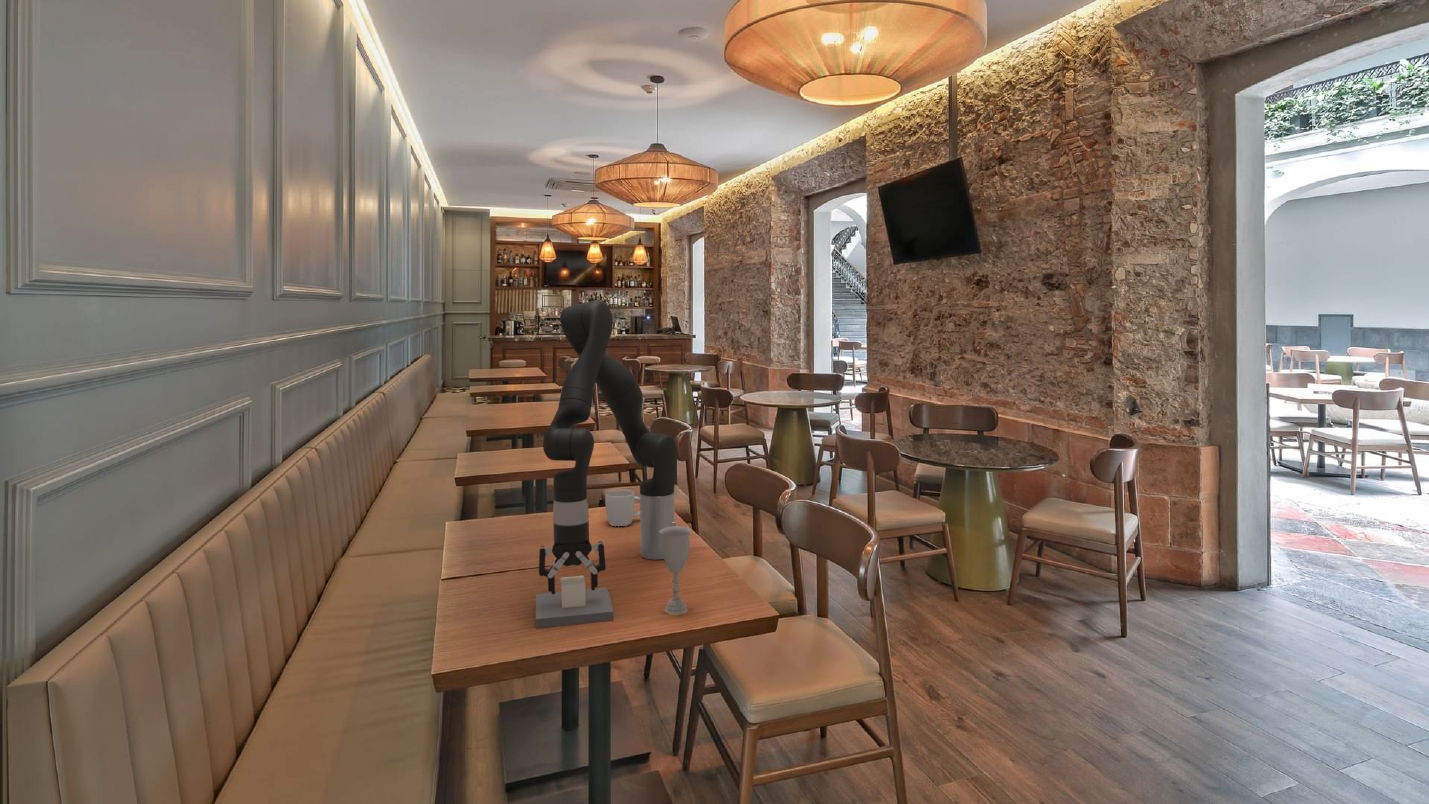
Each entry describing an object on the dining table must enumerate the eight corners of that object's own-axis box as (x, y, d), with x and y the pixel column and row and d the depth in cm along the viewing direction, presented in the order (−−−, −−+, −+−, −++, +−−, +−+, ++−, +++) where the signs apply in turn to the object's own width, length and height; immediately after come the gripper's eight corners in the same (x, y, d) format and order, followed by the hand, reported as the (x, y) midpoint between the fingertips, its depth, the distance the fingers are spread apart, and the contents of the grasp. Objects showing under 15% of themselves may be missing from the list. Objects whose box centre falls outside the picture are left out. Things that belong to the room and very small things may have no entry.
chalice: (679, 619, 153) (678, 537, 151) (653, 612, 156) (652, 532, 154) (698, 607, 159) (697, 529, 157) (673, 601, 162) (672, 524, 160)
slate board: (607, 595, 166) (607, 587, 166) (613, 620, 152) (613, 611, 152) (536, 602, 162) (536, 594, 162) (536, 628, 149) (535, 619, 148)
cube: (584, 597, 160) (583, 575, 159) (585, 605, 155) (585, 583, 155) (561, 599, 159) (560, 577, 158) (562, 608, 154) (561, 585, 153)
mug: (612, 530, 217) (612, 498, 216) (601, 523, 225) (600, 492, 224) (650, 523, 224) (649, 492, 223) (638, 517, 232) (637, 486, 230)
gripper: (602, 512, 160) (604, 582, 162) (537, 516, 157) (539, 588, 159) (605, 521, 153) (607, 594, 155) (537, 526, 150) (539, 600, 151)
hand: (573, 591), depth 157 cm, fingers open, 8 cm apart
